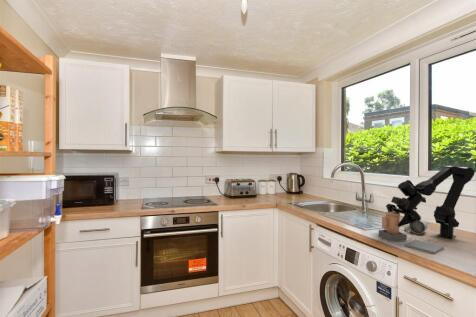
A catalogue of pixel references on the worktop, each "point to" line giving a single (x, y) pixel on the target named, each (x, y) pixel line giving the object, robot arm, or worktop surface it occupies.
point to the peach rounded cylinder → (391, 222)
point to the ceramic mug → (417, 227)
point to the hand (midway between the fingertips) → (391, 223)
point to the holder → (393, 236)
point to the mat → (424, 246)
